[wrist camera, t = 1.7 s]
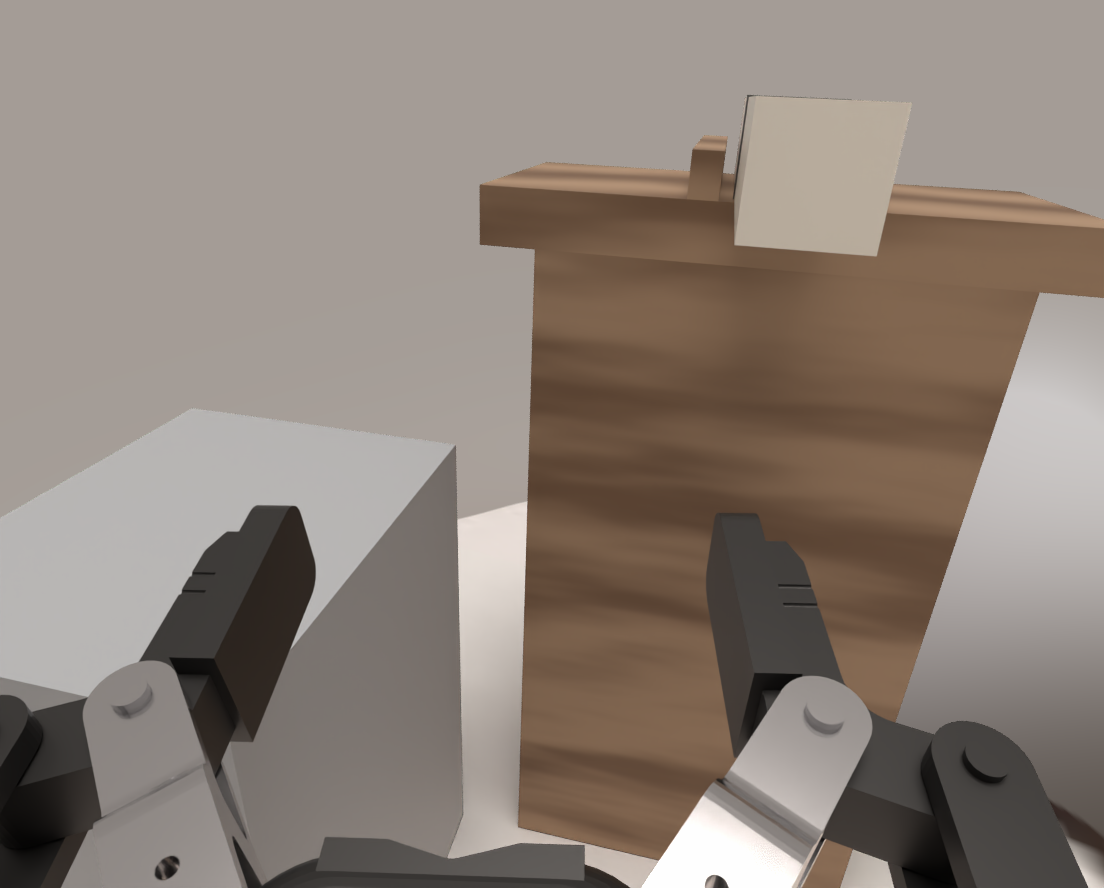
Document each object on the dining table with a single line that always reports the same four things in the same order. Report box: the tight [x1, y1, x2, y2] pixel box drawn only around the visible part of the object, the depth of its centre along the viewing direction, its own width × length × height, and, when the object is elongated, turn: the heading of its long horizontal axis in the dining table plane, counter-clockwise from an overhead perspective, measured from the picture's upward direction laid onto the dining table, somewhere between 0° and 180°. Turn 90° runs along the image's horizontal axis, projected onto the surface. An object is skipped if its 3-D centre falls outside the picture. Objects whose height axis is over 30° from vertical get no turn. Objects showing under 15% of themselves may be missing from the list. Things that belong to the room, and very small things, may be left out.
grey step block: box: [0, 408, 463, 888], centre depth 29 cm, size 15×12×22 cm
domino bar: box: [733, 95, 912, 256], centre depth 23 cm, size 18×3×3 cm, turn 167°
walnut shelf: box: [480, 135, 1104, 888], centre depth 34 cm, size 10×20×34 cm, turn 77°
